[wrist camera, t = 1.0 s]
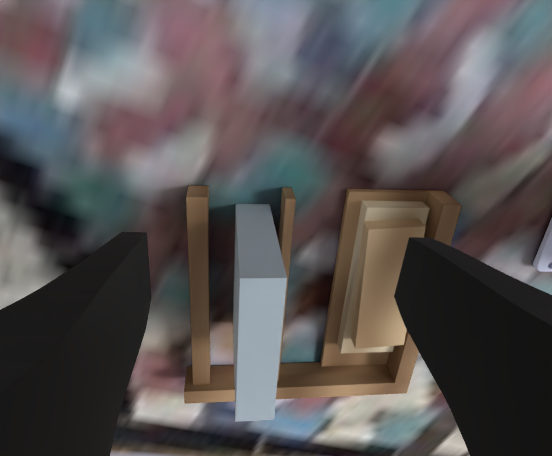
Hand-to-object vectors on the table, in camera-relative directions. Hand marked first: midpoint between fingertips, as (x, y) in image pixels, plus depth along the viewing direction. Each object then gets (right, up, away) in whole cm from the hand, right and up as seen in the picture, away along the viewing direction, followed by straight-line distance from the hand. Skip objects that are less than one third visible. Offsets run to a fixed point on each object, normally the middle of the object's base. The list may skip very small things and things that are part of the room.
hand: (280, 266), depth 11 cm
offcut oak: (+6, -2, +12) cm, 14 cm away
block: (-2, -1, +12) cm, 12 cm away
